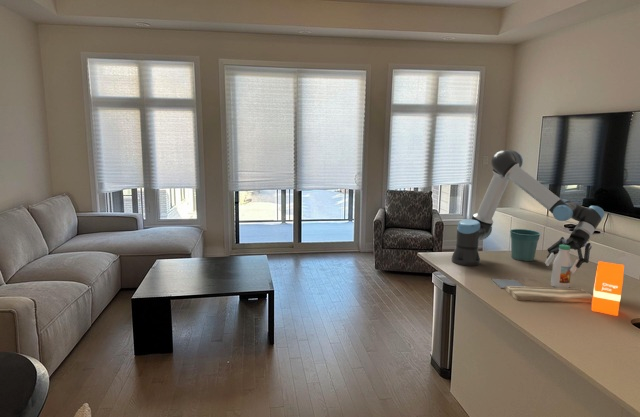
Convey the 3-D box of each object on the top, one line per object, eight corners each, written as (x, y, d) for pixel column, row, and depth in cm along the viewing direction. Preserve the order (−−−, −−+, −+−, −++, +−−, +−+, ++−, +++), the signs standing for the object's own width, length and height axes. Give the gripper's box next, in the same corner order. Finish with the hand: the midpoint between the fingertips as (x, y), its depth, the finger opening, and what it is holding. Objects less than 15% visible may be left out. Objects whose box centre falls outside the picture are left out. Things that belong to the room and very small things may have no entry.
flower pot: (511, 261, 240) (514, 233, 238) (503, 253, 256) (506, 228, 254) (541, 263, 238) (545, 235, 235) (532, 255, 254) (535, 229, 251)
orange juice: (617, 316, 166) (625, 267, 163) (591, 310, 171) (598, 263, 168) (616, 309, 173) (623, 262, 170) (591, 304, 178) (597, 258, 174)
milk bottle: (551, 287, 198) (556, 246, 194) (549, 282, 205) (554, 242, 201) (570, 290, 195) (575, 248, 192) (567, 285, 202) (572, 244, 199)
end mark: (491, 279, 206) (491, 279, 206) (515, 280, 206) (516, 280, 206) (501, 288, 194) (501, 287, 194) (527, 289, 194) (527, 288, 194)
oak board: (505, 290, 192) (505, 285, 192) (580, 292, 192) (580, 288, 191) (516, 299, 180) (517, 295, 180) (596, 302, 180) (597, 298, 180)
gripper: (610, 243, 193) (587, 280, 188) (560, 233, 214) (537, 266, 209) (606, 233, 190) (581, 270, 185) (555, 223, 210) (532, 256, 205)
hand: (558, 268), depth 197 cm, fingers open, 11 cm apart
